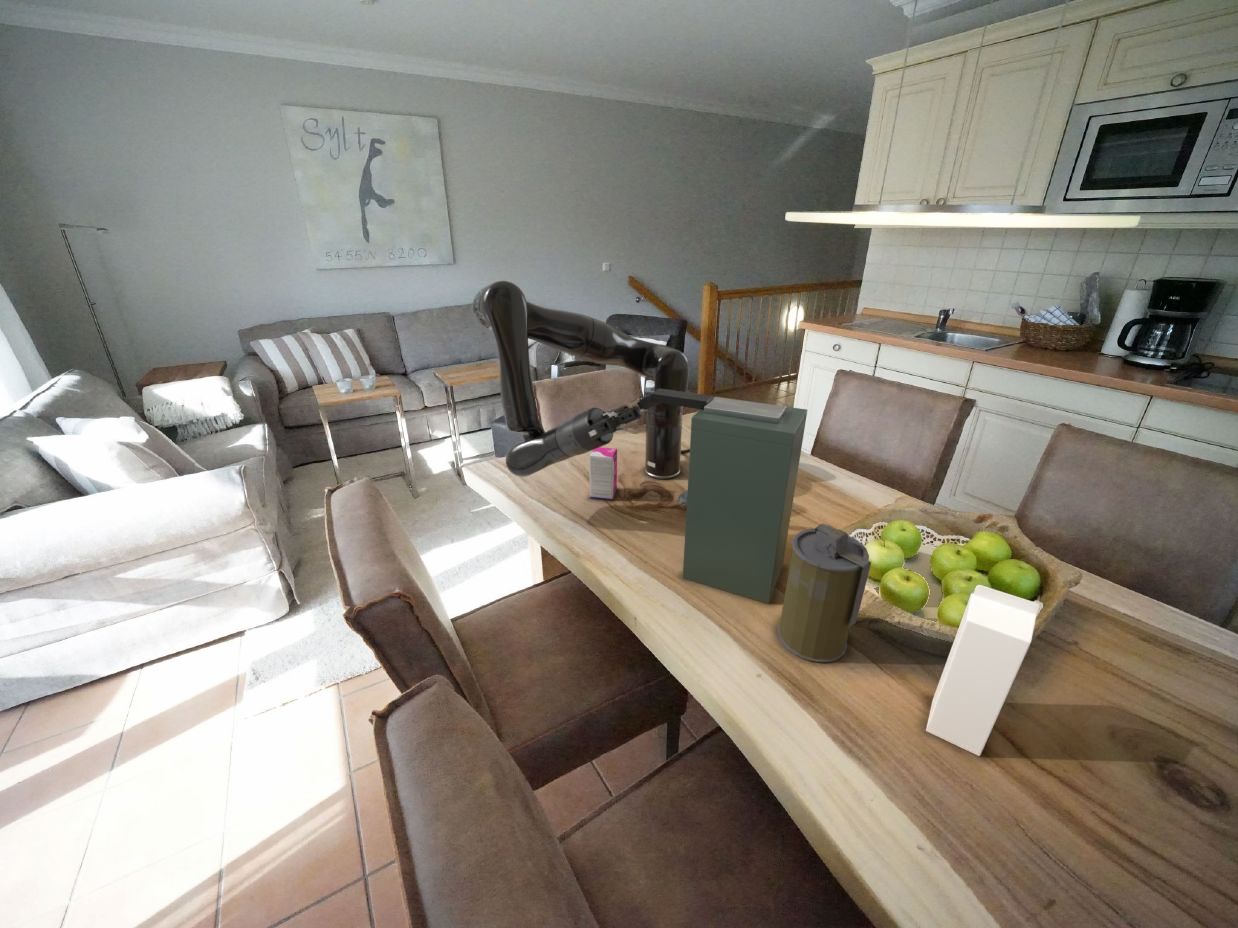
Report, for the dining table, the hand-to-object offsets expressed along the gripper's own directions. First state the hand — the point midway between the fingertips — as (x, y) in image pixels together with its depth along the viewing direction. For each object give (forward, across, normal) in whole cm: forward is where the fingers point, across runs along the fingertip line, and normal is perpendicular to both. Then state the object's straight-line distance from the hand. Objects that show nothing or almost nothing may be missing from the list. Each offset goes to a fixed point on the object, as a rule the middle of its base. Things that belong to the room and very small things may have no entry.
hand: (649, 403), depth 91 cm
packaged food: (-10, +21, +30) cm, 38 cm away
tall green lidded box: (0, 0, +36) cm, 36 cm away
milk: (+30, -19, +54) cm, 64 cm away
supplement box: (-32, +16, +18) cm, 40 cm away
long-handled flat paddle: (+11, 0, +5) cm, 12 cm away
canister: (+14, -11, +44) cm, 47 cm away
